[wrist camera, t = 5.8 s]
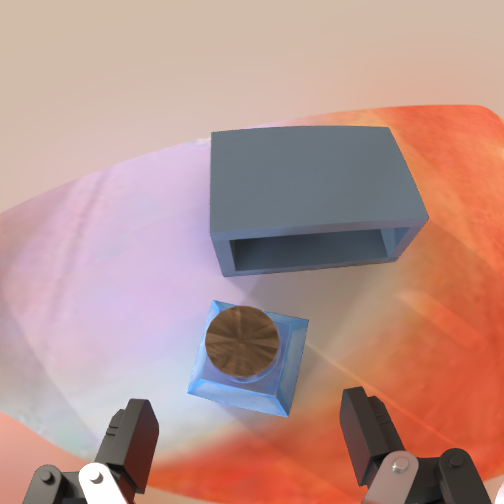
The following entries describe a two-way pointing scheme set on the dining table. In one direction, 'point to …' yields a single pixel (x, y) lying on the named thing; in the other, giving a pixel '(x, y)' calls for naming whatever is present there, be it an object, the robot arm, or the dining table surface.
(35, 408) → the dining table surface
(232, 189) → the shelf
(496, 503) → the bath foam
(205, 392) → the perfume bottle
